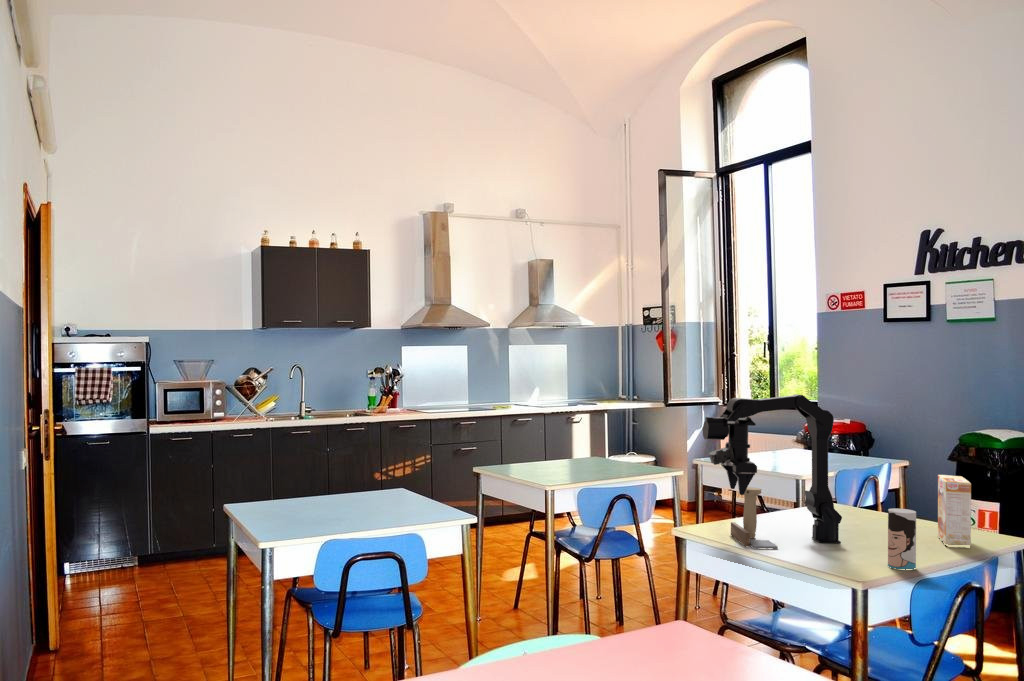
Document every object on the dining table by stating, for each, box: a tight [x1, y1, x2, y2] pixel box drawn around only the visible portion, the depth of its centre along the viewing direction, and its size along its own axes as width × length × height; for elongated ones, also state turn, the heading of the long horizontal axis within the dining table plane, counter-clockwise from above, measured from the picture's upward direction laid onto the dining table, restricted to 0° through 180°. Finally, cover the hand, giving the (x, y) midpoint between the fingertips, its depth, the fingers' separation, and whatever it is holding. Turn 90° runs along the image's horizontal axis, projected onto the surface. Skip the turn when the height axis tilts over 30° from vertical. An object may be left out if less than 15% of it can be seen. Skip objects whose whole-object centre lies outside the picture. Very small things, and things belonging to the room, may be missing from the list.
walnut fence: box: [730, 521, 751, 547], centre depth 247 cm, size 1×15×4 cm, turn 1°
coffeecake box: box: [937, 474, 972, 547], centre depth 249 cm, size 15×7×20 cm, turn 160°
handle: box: [742, 486, 762, 539], centre depth 252 cm, size 5×6×15 cm
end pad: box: [750, 539, 779, 550], centre depth 241 cm, size 7×8×1 cm
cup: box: [887, 507, 917, 570], centre depth 219 cm, size 7×7×15 cm
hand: (736, 491), depth 247 cm, fingers open, 9 cm apart
